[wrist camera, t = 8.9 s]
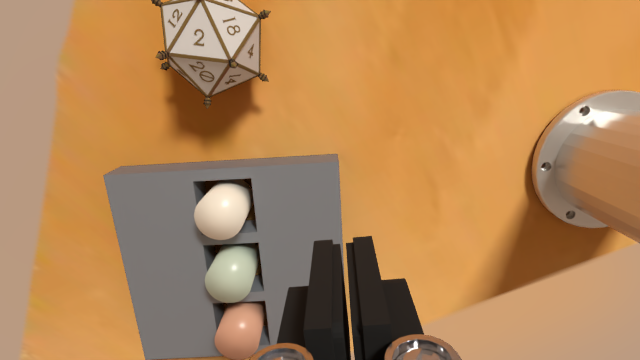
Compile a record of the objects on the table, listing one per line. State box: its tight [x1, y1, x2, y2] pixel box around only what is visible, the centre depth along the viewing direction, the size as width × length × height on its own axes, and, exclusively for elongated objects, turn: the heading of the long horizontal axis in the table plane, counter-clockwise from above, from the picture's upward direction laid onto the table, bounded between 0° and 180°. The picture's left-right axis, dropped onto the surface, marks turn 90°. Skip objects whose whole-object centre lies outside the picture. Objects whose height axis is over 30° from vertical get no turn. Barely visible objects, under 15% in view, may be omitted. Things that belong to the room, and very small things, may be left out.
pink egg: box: [215, 301, 266, 360], centre depth 37 cm, size 4×4×5 cm
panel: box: [103, 154, 344, 360], centre depth 36 cm, size 20×19×3 cm
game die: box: [151, 0, 271, 109], centre depth 29 cm, size 9×8×10 cm
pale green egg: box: [205, 243, 260, 303], centre depth 35 cm, size 4×4×5 cm
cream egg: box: [194, 179, 254, 240], centre depth 33 cm, size 4×4×5 cm
